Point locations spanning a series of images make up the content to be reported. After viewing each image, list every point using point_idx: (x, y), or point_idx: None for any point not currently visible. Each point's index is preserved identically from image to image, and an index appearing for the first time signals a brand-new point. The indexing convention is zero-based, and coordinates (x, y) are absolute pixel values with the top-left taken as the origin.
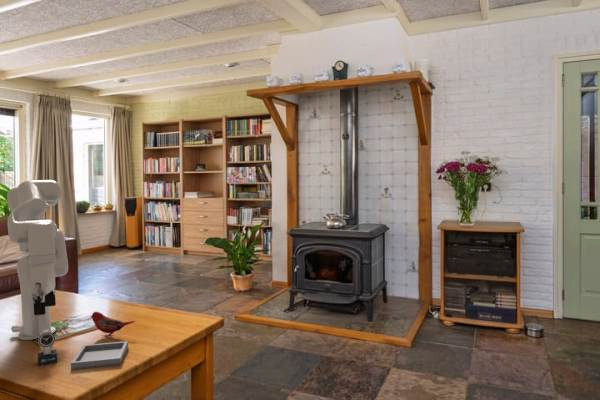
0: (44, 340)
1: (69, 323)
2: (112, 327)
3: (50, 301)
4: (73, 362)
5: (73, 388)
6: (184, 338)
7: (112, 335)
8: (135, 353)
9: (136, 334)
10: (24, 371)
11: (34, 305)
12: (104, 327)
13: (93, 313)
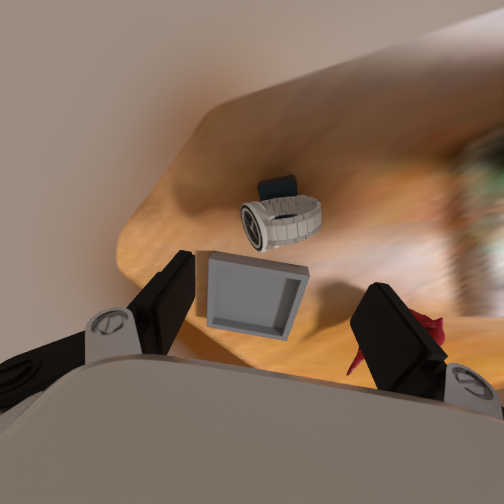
0: (250, 221)
1: None
2: None
3: (370, 331)
4: (210, 263)
5: (136, 259)
6: None
7: None
8: (252, 335)
9: (350, 345)
10: (241, 150)
11: (147, 294)
12: None
13: (436, 336)
